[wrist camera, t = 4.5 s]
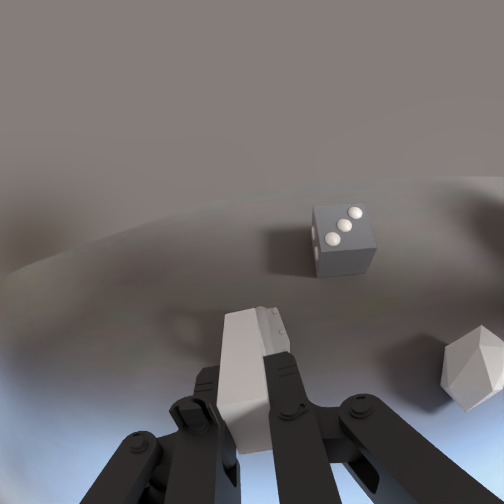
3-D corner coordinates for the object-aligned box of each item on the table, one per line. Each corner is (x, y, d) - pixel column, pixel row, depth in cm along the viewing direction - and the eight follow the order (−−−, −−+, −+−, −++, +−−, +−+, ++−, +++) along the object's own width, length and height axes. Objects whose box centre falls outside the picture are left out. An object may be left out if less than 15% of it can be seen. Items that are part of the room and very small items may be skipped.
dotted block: (355, 232, 35) (363, 202, 30) (364, 273, 32) (377, 246, 27) (309, 236, 36) (311, 205, 31) (315, 278, 33) (319, 251, 28)
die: (454, 424, 21) (524, 392, 14) (422, 408, 20) (509, 369, 13) (452, 367, 27) (512, 333, 20) (421, 342, 26) (491, 299, 19)
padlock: (295, 382, 27) (298, 371, 18) (257, 388, 27) (241, 380, 18) (284, 320, 31) (280, 282, 22) (248, 326, 31) (230, 291, 22)
